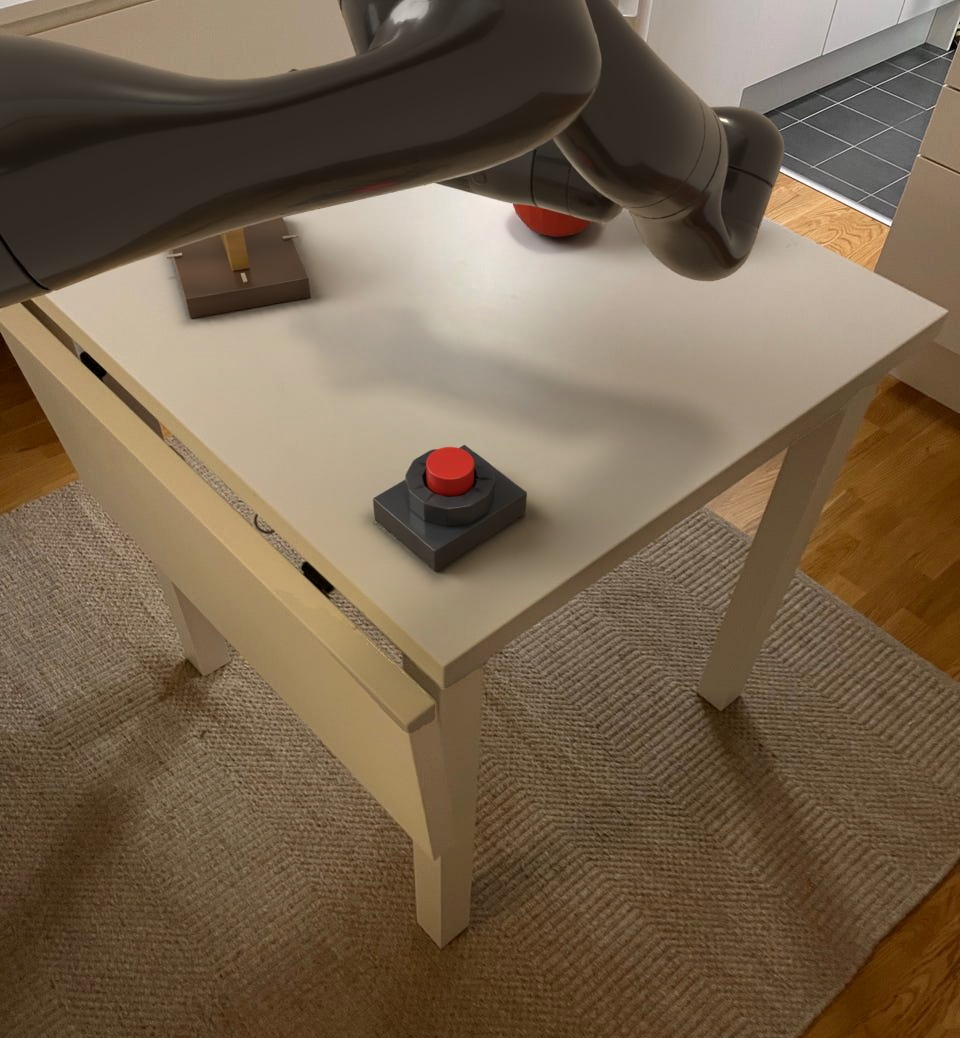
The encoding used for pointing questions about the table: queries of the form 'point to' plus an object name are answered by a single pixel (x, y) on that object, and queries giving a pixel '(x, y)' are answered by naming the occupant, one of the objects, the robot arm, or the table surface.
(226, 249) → the wooden block
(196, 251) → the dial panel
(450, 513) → the button block
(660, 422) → the table surface
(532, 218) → the fruit
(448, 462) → the button
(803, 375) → the table surface
